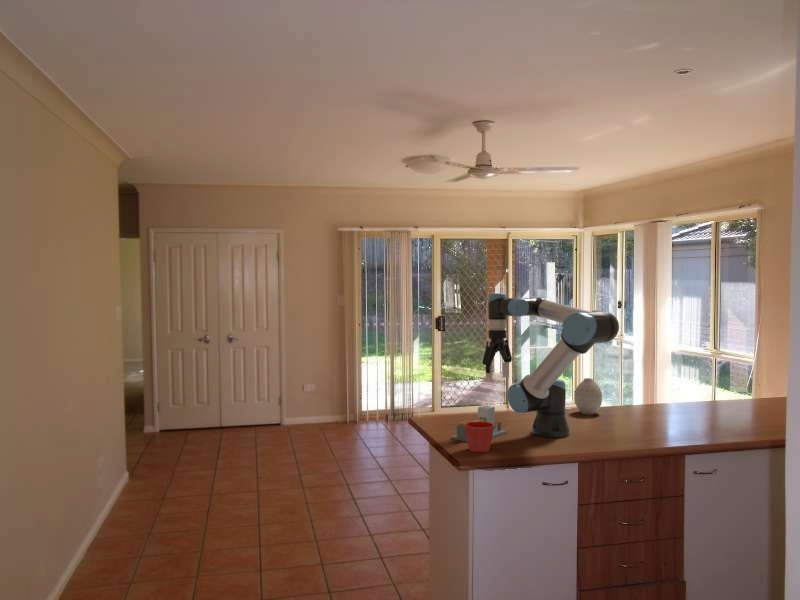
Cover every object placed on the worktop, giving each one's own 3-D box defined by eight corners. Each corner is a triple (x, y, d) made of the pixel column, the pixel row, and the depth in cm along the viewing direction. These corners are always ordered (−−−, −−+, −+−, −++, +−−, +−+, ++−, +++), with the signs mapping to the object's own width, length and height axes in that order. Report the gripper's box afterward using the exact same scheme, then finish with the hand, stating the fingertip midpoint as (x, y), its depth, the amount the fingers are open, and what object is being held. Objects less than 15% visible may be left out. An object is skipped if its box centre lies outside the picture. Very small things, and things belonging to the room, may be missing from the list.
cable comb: (506, 433, 264) (507, 416, 264) (475, 443, 247) (475, 426, 247) (482, 428, 272) (482, 412, 272) (450, 438, 255) (450, 421, 255)
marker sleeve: (494, 426, 265) (494, 407, 265) (487, 428, 262) (488, 408, 261) (484, 424, 269) (484, 405, 269) (477, 426, 265) (477, 407, 265)
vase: (605, 416, 298) (605, 380, 298) (578, 415, 299) (578, 380, 298) (597, 410, 311) (597, 376, 311) (571, 410, 311) (571, 376, 311)
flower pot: (462, 446, 243) (462, 421, 243) (490, 445, 244) (490, 420, 244) (467, 453, 233) (467, 427, 232) (496, 453, 234) (496, 427, 233)
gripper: (504, 327, 283) (505, 375, 283) (473, 330, 264) (474, 381, 264) (519, 328, 278) (520, 376, 278) (489, 331, 259) (489, 383, 259)
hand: (497, 379), depth 271 cm, fingers open, 13 cm apart
